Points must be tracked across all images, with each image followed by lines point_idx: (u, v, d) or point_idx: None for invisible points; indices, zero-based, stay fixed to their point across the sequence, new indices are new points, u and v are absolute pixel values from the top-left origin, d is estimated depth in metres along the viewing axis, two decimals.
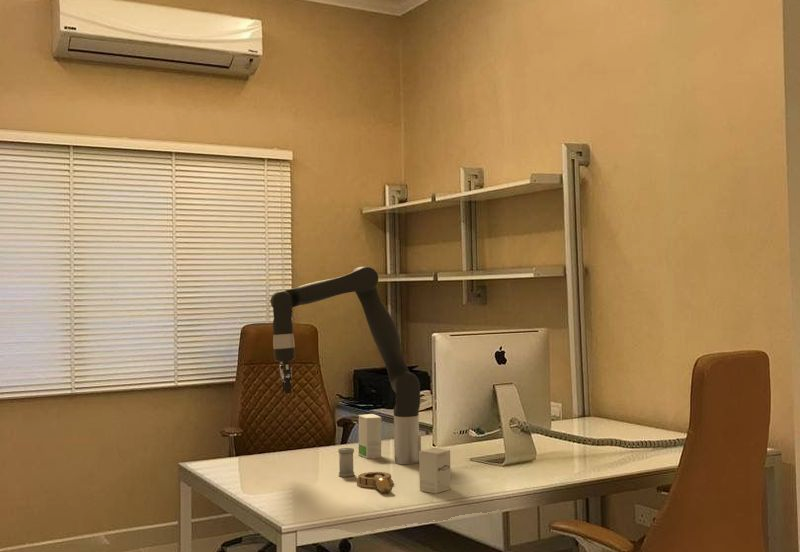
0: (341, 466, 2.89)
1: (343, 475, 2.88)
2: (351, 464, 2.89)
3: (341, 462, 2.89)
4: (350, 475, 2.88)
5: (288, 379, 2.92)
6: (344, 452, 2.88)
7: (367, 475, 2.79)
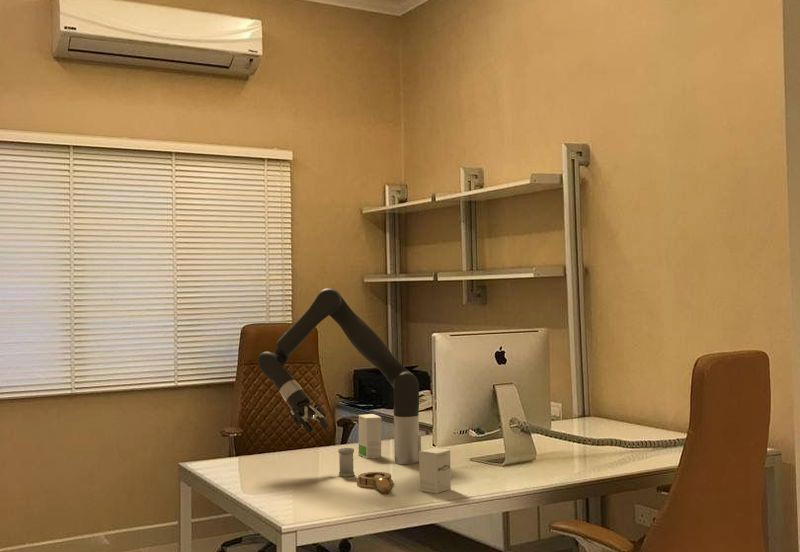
0: (341, 466, 2.89)
1: (343, 475, 2.88)
2: (351, 464, 2.89)
3: (341, 462, 2.89)
4: (350, 475, 2.88)
5: (298, 421, 2.93)
6: (344, 452, 2.88)
7: (367, 475, 2.79)
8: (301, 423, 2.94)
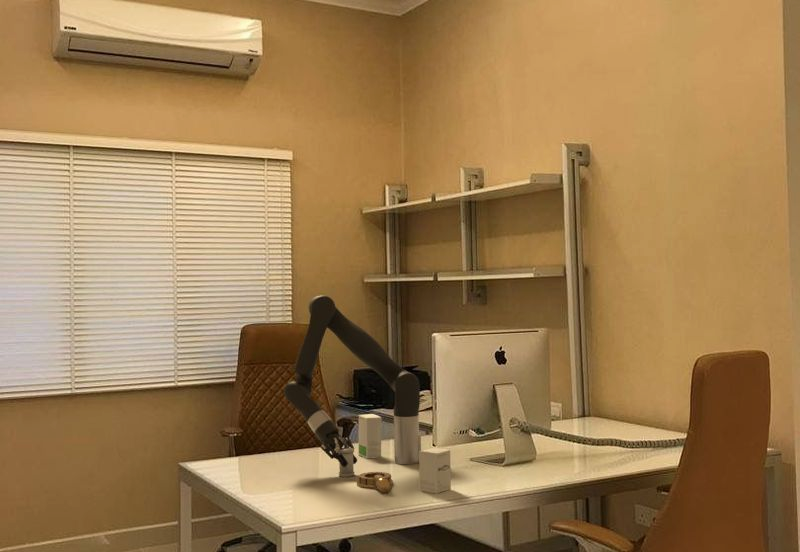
0: (341, 466, 2.88)
1: (343, 475, 2.88)
2: (351, 464, 2.89)
3: None
4: (350, 475, 2.88)
5: (333, 455, 2.87)
6: (344, 452, 2.88)
7: (367, 475, 2.79)
8: (335, 457, 2.87)
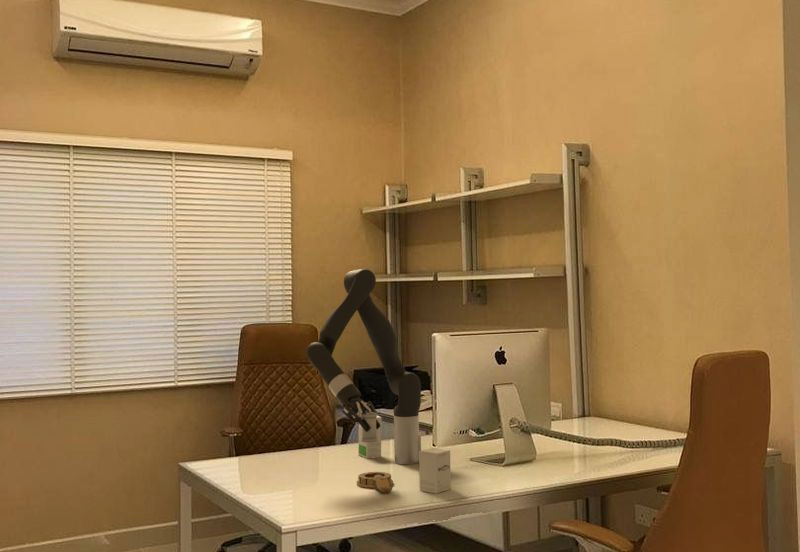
0: (363, 431, 2.77)
1: (366, 440, 2.76)
2: (374, 429, 2.77)
3: None
4: (373, 440, 2.76)
5: (355, 419, 2.75)
6: (367, 417, 2.76)
7: (367, 475, 2.79)
8: (357, 421, 2.75)
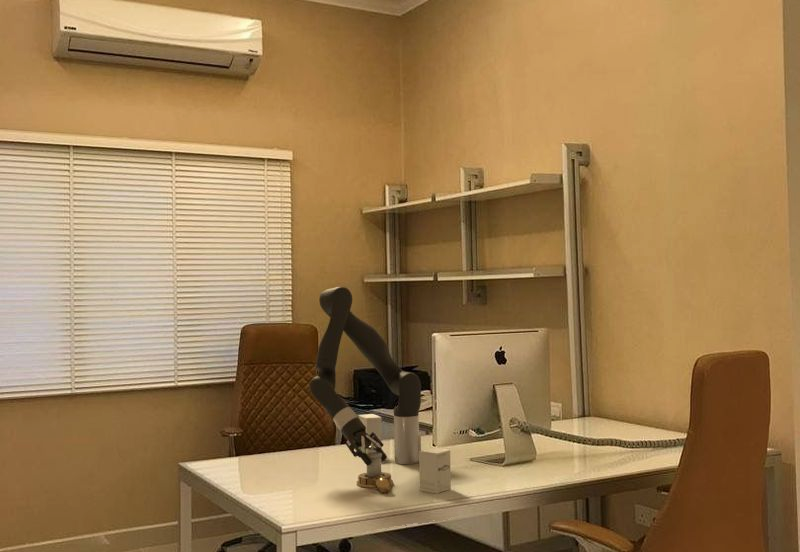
0: (368, 472, 2.75)
1: None
2: (379, 469, 2.75)
3: (368, 468, 2.75)
4: None
5: (356, 452, 2.72)
6: (372, 458, 2.74)
7: None
8: (358, 455, 2.73)
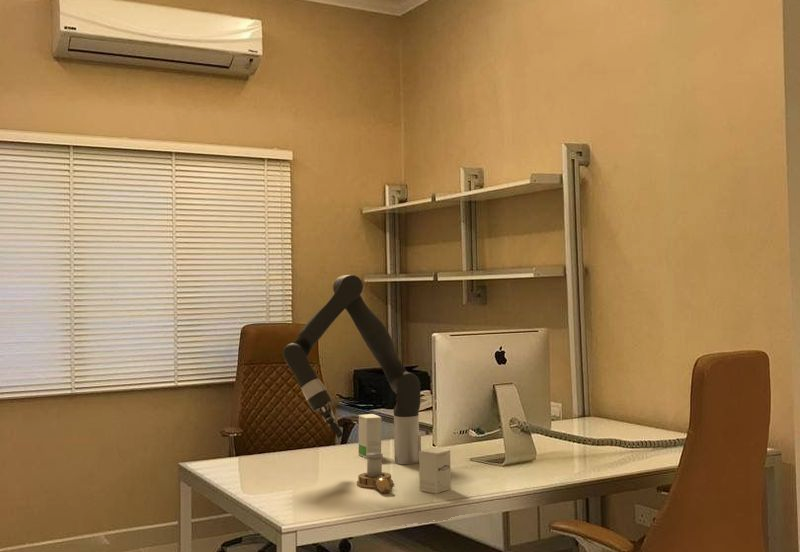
0: (369, 472, 2.75)
1: None
2: (379, 469, 2.75)
3: (369, 467, 2.75)
4: None
5: (330, 419, 2.82)
6: (373, 457, 2.74)
7: None
8: (330, 422, 2.82)
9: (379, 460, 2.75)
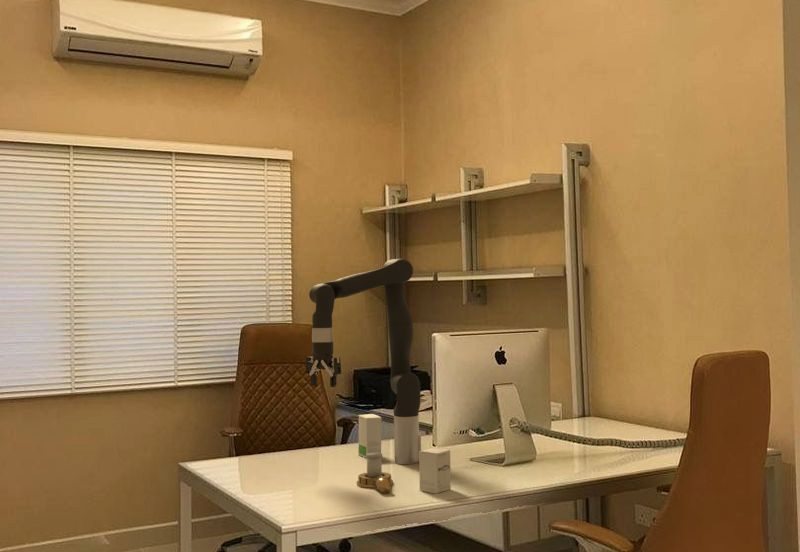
0: (369, 472, 2.75)
1: None
2: (379, 469, 2.75)
3: (369, 467, 2.75)
4: None
5: (339, 372, 2.93)
6: (373, 457, 2.74)
7: None
8: (336, 375, 2.93)
9: (379, 460, 2.75)
